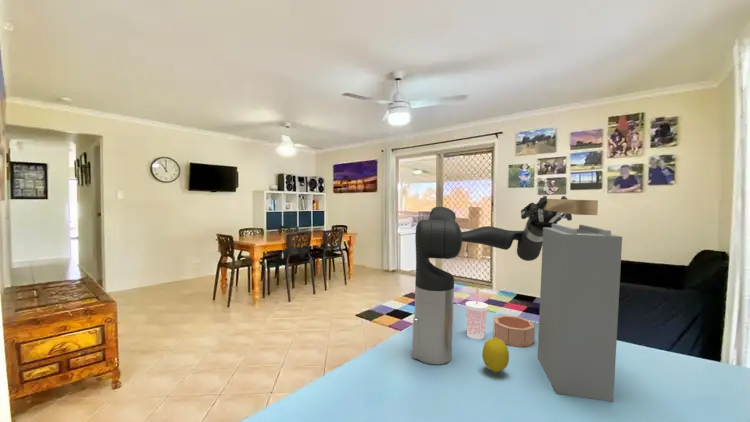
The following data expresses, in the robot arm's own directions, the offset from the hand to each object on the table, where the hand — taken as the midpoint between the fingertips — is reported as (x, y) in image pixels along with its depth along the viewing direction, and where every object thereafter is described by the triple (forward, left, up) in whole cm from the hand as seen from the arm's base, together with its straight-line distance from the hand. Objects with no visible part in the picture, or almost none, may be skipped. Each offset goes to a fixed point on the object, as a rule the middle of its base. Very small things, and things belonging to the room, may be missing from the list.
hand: (555, 199), depth 87 cm
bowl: (-9, 0, -39) cm, 40 cm away
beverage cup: (-19, -1, -39) cm, 43 cm away
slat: (0, -8, -3) cm, 9 cm away
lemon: (-16, -20, -39) cm, 47 cm away
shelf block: (0, -18, -39) cm, 43 cm away
